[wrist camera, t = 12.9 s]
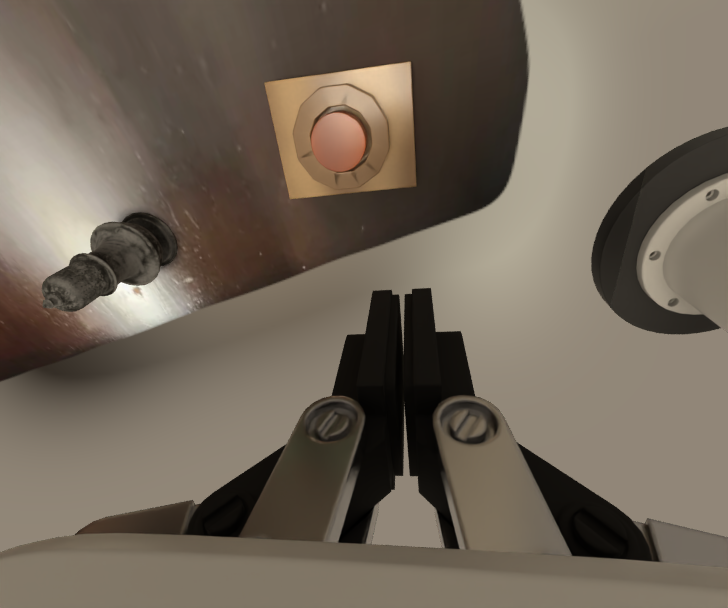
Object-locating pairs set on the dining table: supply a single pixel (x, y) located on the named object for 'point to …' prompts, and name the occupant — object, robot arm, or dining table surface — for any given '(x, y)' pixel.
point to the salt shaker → (112, 262)
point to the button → (339, 140)
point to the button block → (370, 104)
